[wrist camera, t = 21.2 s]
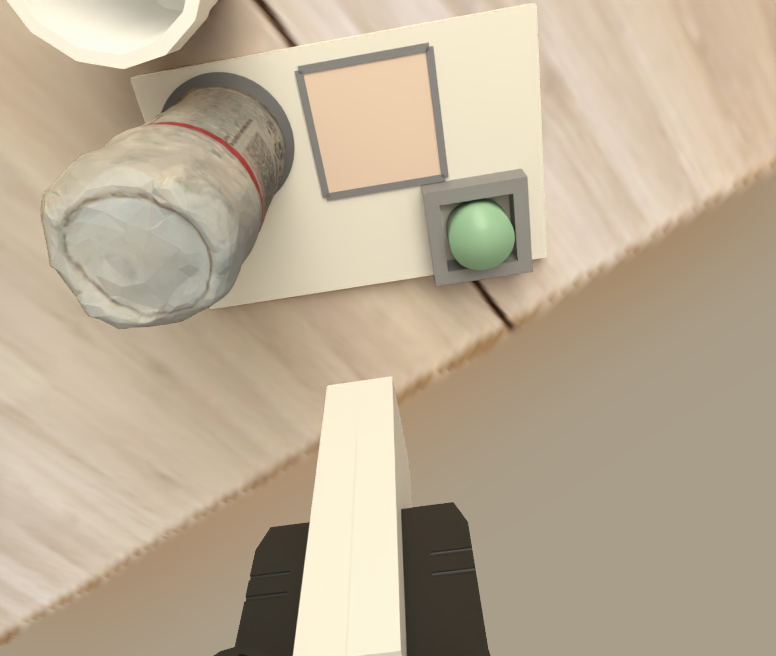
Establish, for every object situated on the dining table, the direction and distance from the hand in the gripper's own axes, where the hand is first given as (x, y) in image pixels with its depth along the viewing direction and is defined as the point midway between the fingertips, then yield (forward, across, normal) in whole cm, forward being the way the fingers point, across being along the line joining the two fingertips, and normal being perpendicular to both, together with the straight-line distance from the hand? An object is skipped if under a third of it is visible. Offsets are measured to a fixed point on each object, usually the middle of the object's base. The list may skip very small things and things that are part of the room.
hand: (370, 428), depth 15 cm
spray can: (+31, -10, +1) cm, 33 cm away
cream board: (+32, -2, -2) cm, 33 cm away
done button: (+31, +6, -8) cm, 32 cm away
